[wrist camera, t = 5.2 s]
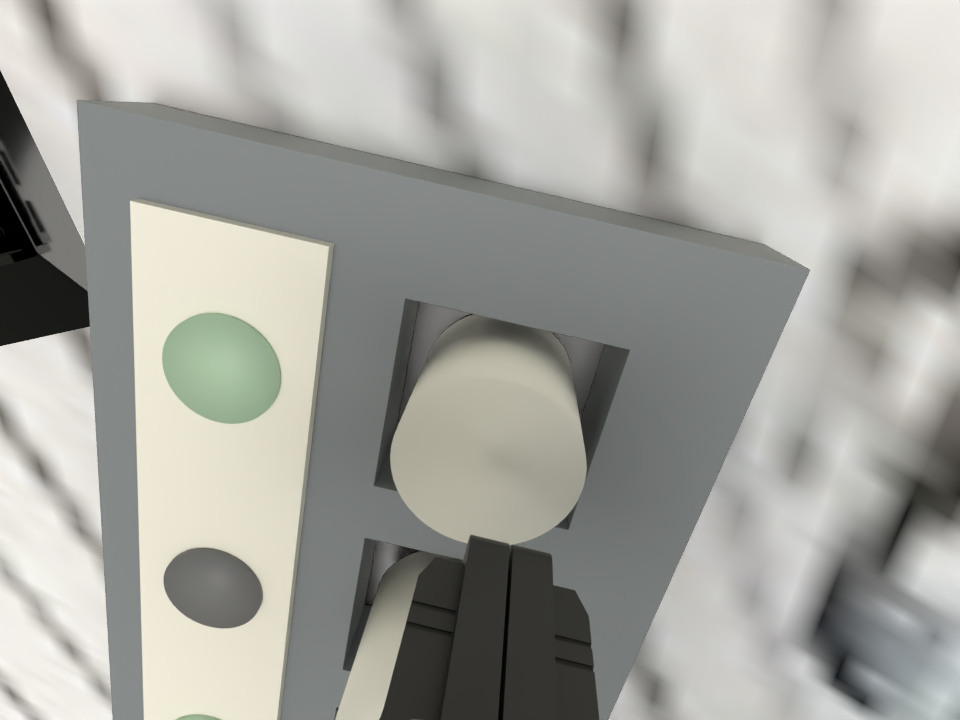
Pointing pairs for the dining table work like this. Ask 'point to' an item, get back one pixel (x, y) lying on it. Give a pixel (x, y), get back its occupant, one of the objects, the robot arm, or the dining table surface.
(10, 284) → the black boxy piece
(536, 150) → the dining table surface
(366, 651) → the button
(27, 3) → the dining table surface
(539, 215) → the button board
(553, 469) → the button
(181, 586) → the strip
